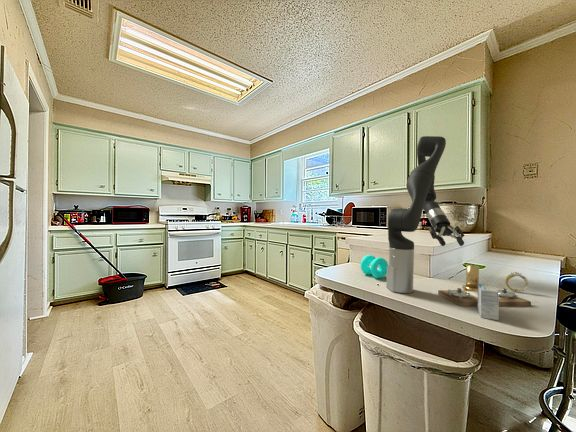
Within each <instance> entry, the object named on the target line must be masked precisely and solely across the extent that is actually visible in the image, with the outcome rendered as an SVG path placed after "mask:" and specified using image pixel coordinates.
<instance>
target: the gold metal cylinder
mask: <svg viewBox="0 0 576 432" xmlns="http://www.w3.org/2000/svg"><path fill="white" fill-rule="evenodd" d="M465 267H466V269H465V285H464V284H462V290H478V284H480V281H479V279H480V277H479V276H480V266H479V265H476V264H475V265H474V264H466V266H465Z"/></svg>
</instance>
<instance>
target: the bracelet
mask: <svg viewBox="0 0 576 432" xmlns="http://www.w3.org/2000/svg"><path fill="white" fill-rule="evenodd" d="M522 274H523V273H522V272H520V273H519V272H518V271H514V272H513V271H512V272H511V273H509V274H507V276H506V277H505V280H504V281H505V284H506V285H505V286H506V287H507V288H508V289H509V290H511V291H512V292H514V293H515V292H516V293H519V292H524V291H526V290H527V289H528V287H529V285H530V284H529V280H528V278H527V276H524V275H522ZM515 277H519V278H521V279H523V281H524V283H525V285H524V287H523V288H520V289H517V288H513V287H511V286H510V284H509V280H510V279H512V278H515Z"/></svg>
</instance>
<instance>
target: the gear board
mask: <svg viewBox="0 0 576 432" xmlns="http://www.w3.org/2000/svg"><path fill="white" fill-rule="evenodd" d="M448 290H449V289H448ZM448 290H447V289H446V290H445V289H443V290H441V289H440V290H438V292H437V295H439V296H441V297H442V298H444V299H446V300H449V302H452V303H454V304H456V306H460V307H478V290H463V289H461V291H464V292H469V293H470V295H471V299H468V298H462V299H459V298H458V297H454V296H449V293H448ZM531 306H532V302H531V301H530V300H528V299H524V298H522V297H520V296H518V297H517V299H515V298H509V299H506V298H503V297H499V307H531Z"/></svg>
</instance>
